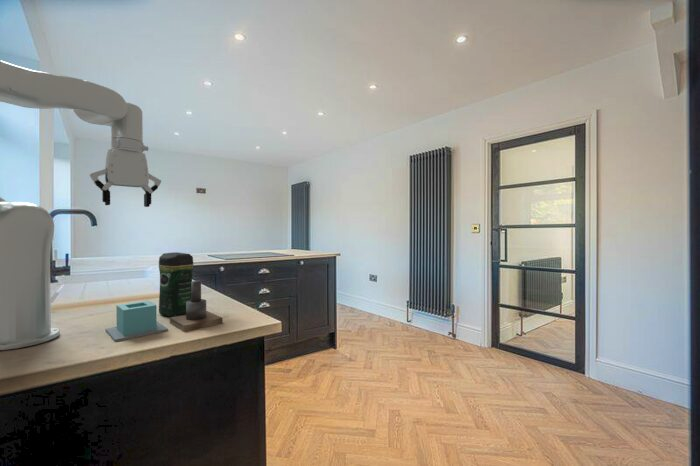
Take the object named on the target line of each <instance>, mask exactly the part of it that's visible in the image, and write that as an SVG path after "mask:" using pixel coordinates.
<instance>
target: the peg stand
mask: <svg viewBox="0 0 700 466" xmlns="http://www.w3.org/2000/svg"><path fill="white" fill-rule="evenodd" d="M169 323H170V324H171V325H172V326H174V327H176V328H177V329H178V330H180V331H182V332H188V331H193V330H198V329H201V328H207V327H212V326H215V325H219V324H223V317H222V316H220V315H217V314H215V313H214V312H211V311H208V310H207V300H206V299H205V298H204V299H202V281H201V280H192V281H191V300H189V301H187V302H186V315H182V316H174V317H171V316H170V317H169Z"/></svg>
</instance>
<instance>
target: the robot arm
mask: <svg viewBox="0 0 700 466" xmlns="http://www.w3.org/2000/svg"><path fill="white" fill-rule="evenodd" d="M0 102H1V103H4V104H9V105H14V106H18V107H22V108H25V109H26V108H28V109H35V110H36V109H39V110H47V109H49V110H50V109H51V110H52V109H64V110H65V109H66V110H73V113H74V114H75V115H76V117H78V119H80V120H82V121H84V122H86V123H88V124H91V125H99V126H107V127H110V129H111V130H110V131H111V132H110V134H111V136H110V137H111V145H110V146H111V148H110V149H107V152H106V157H105V166H104V167H105V168H103V169H101V170H98V171H95V172H91V173H90V174H89V177H90V178H91V180H92V182H93V184H94V185H95V186H96V187H97V188H99V189H100V190H101V191H102V192H101V193H102V198H101V199H102V203H104V205H105V206H110V205H111V191H110V188H111V187H112V186H116V187H126V188H127V187H128V188H141V189H142V190H143V191H144V194H143V206H144V207H145V208H148V207H150V205H152V194H153V193H154V192H155V191H157V189H159V188H158V187H160V185H161V184H162V180H161V179H159V178H157V177H156V176H154V175H152V174H150V173H149V167H148V160H147V156H146V154H145V153H144V152H148V151H149V146H146V145H145V144H144V142H143V141H144V139H143V137H144V136H143V134H144V133H143V129H144V128H143V127H144V124H143V111H142V109H141V107H139V105H137V104H134V103H131V102H126V100H125V98H124V97H123V96H122V95H121V94H120V93H118V92H117V91H115V90H114V89H111V88H109V87H107V86H104V85H100V84H97V83H95V82H92V81H88V80H85V79H81V78H77V77H71V76H67V75H61V74H55V73H50V72H45V71H39V70H33V69H29V68H27V67H22V66H19V65H17V64H16V65H15V64H13V63H9V62H6V61H3V60H0ZM100 176H104V181H105V183H103V182H102V181H100V179H99V177H100ZM150 181H152V182H153V185H152V186H151V187H150V186H149V183H150ZM54 233H55V223H54V219H53V217H52V216H51V214H50V212H48V211H47V210H46V209H45V208H43V207H42V206H40V205H38V204H35V203H32V202H25V201H24V202H23V201H17V202H16V201H12V202H8V201H7V200H5V199H4V198H2V197H1V196H0V351H6V350H7V351H8V350H9V351H10V350H15V349H22V348H26V347H31V346H35V345H39V344H43V343H45V342H46V343H47V342H49V341H51V340H54V339H56V338H57V337H58V336H59V335H60V334H61V333H60V332H61V330H60V328H57V327H52V320H51V319H52V318H51V317H52V316H51V315H52V304H51V250H52V244H53V238H54Z"/></svg>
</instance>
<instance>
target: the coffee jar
mask: <svg viewBox="0 0 700 466" xmlns="http://www.w3.org/2000/svg"><path fill="white" fill-rule="evenodd" d="M194 264H195V263H194V257H193V255H191V254H190V253H185V252H184V253H183V252H178V251H177V252H176V251H175V252H165V253H162V254H161V255H160V256H159V258H158V269H159V270H158V271H159V299H158V314H160V315H161V316H167V317H170V318H171V317H176V316H182V315H186V302H187V301H189V300H191V281H193V270H194Z"/></svg>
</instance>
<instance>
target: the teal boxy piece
mask: <svg viewBox="0 0 700 466" xmlns="http://www.w3.org/2000/svg"><path fill="white" fill-rule="evenodd" d="M115 308H116V327H117V330H118V331H119V332H120V333H121V334H122V335H128V334H133V333H138V332H143V331H148V330H153V329H157V322H158V321H157V316H158V315H157V304H155V303H153V302H152V301H149V300H143V301H137V302H136V301H135V302H130V303H129V302H128V303H124V304H123V303H121V304H116V307H115Z"/></svg>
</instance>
